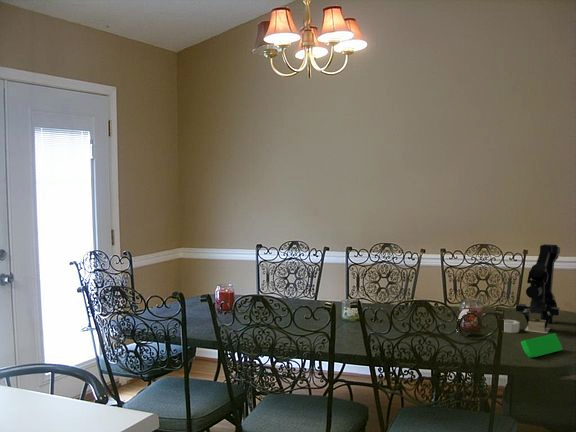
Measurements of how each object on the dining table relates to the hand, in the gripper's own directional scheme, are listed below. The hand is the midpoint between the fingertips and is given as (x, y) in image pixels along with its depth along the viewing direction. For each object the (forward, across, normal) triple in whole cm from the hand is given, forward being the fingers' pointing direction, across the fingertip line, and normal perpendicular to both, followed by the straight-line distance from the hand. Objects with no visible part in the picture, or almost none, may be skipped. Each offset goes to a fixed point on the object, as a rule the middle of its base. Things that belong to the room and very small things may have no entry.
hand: (537, 327), depth 272 cm
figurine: (+2, -28, -24) cm, 37 cm away
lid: (+1, 0, 0) cm, 1 cm away
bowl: (+1, -11, -8) cm, 14 cm away
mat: (+1, 0, 0) cm, 1 cm away
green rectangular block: (+2, +4, -37) cm, 37 cm away
